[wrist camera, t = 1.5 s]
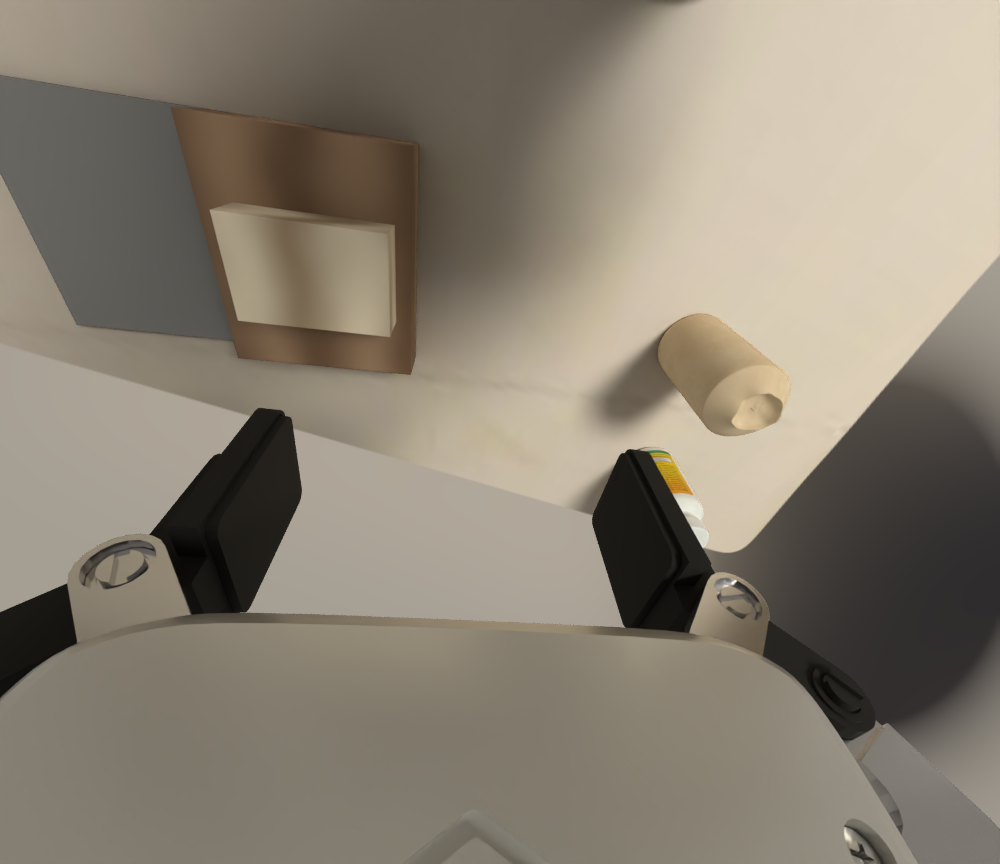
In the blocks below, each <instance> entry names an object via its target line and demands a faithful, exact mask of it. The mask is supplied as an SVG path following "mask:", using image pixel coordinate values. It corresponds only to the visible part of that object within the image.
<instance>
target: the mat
mask: <svg viewBox="0 0 1000 864" xmlns="http://www.w3.org/2000/svg"><path fill="white" fill-rule="evenodd" d="M170 107H186V108H197V107H191V106H185V105H179V104H173V103H166V102H160V101H154V100H148V99H142V98H136V97H130V96H124V95H118V94H112V93H105V92H99V91H93V90H87V89H81V88H75V87H69V86H63V85H57V84H51V83H45V82H38V81H32V80H26V79H20V78H14V77H8V76H2V75H0V174H1V176H2V178H3V180H4V182H5V184H6V186H7V187H8V189H9V191H10V193H11V195H12V197H13V199H14V201H15V203H16V205H17V207H18V209H19V211H20V213H21V215H22V217H23V219H24V221H25V223H26V225H27V227H28V229H29V231H30V233H31V235H32V237H33V239H34V241H35V243H36V245H37V247H38V249H39V251H40V253H41V255H42V257H43V259H44V261H45V263H46V265H47V267H48V269H49V271H50V273H51V275H52V277H53V279H54V281H55V282H56V284H57V286H58V288H59V290H60V292H61V294H62V296H63V298H64V300H65V302H66V304H67V306H68V308H69V310H70V312H71V314H72V316H73V318H74V320H75V322H76V324H77V325H85V326H95V327H105V328H114V329H124V330H134V331H144V332H154V333H163V334H173V335H183V336H193V337H203V338H212V339H222V340H232V341H233V337H232V333H231V329H230V326H229V322H228V318H227V315H226V311H225V307H224V304H223V300H222V296H221V293H220V289H219V285H218V282H217V278H216V274H215V271H214V267H213V263H212V259H211V256H210V252H209V248H208V245H207V241H206V237H205V234H204V230H203V226H202V223H201V219H200V215H199V212H198V208H197V204H196V200H195V197H194V193H193V189H192V186H191V182H190V178H189V175H188V171H187V167H186V164H185V160H184V156H183V153H182V149H181V145H180V141H179V138H178V134H177V130H176V127H175V123H174V119H173V116H172V112H171V108H170Z"/></svg>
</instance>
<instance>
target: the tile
mask: <svg viewBox="0 0 1000 864" xmlns="http://www.w3.org/2000/svg"><path fill="white" fill-rule="evenodd" d="M210 213H211V217H212V221H213V225H214V229H215V233H216V237H217V241H218V245H219V249H220V252H221V256H222V260H223V264H224V268H225V272H226V276H227V280H228V284H229V288H230V291H231V295H232V299H233V303H234V307H235V311H236V315H237V319H238V321H246V322H255V323H264V324H273V325H283V326H292V327H301V328H311V329H320V330H329V331H338V332H348V333H357V334H366V335H376V336H385V337H390V336H391V333H392V331H393V328H394V326H395V324H396V270H395V225H391V224H384V223H376V222H369V221H362V220H355V219H348V218H341V217H334V216H326V215H319V214H312V213H305V212H298V211H291V210H283V209H276V208H269V207H262V206H255V205H248V204H241V203H233V202H232V203H229V204H226V205H223V206H220V207H217V208H214V209H211V210H210Z"/></svg>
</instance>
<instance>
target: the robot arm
mask: <svg viewBox="0 0 1000 864" xmlns="http://www.w3.org/2000/svg"><path fill="white" fill-rule="evenodd" d="M301 492H302V488H301V481H300V474H299V467H298V460H297V453H296V446H295V439H294V432H293V425H292V419H291V417H288V416H285V414H284V412H283V411H282V410H273V409H265V408H258V409H257V410H256V411H255V412H254V413H253V414H252V416H251V417H250V418H249V419H248V421H247V422H246V423H245V424H244V426H243V427H242V428H241V430H240V431H239V432H238V434H237V435H236V436H235V437H234V439H233V440H232V441H231V442H230V444H229V445H228V446H227V447H226V449H225V450H224V451H223V452H222V454H217V455H214V456H213V457H212V458H211V459H210V460H209V462H208V463H207V464H206V465H205V466H204V468H203V469H202V470H201V471H200V473H199V474H198V475H197V476H196V478H195V479H194V480H193V481H192V483H191V484H190V485H189V486H188V488H187V489H186V490H185V491H184V493H183V494H182V495H181V496H180V497H179V499H178V500H177V501H176V502H175V504H174V505H173V506H172V507H171V509H170V510H169V511H168V512H167V514H166V515H165V516H164V517H163V519H162V520H161V521H160V522H159V523H158V525H157V526H156V527H155V528H154V530H153V531H152V532H151V533H150V535H145V534H134V535H125V536H122V537H118V538H114V539H111V540H109V541H107V542H104V543H102V544H100V545H98V546H96V547H95V548H93V549H92V550H90V551H88V552H87V553H85V554H84V555H83V556H82V557H81V558H80V559H79V560H78V561H77V562H76V563H75V564H74V565H73V567H72V569H71V570H70V572H69V574H68V581H67V584H65V585H63V586H60V587H58V588H55V589H53V590H51V591H49V592H46V593H44V594H42V595H39V596H37V597H35V598H32V599H30V600H28V601H25V602H23V603H21V604H18V605H16V606H14V607H11V608H9V609H7V610H5V611H2V612H0V864H1000V829H999V828H998V827H997V826H996V824H995V823H994V822H993V821H992V820H991V819H990V818H989V817H988V816H987V815H986V814H985V813H983V812H982V811H981V810H980V809H979V808H978V807H977V806H976V805H975V804H974V803H973V802H972V801H971V800H970V799H968V798H967V797H966V796H965V795H964V794H963V793H962V792H961V791H960V790H959V789H958V788H957V787H955V786H954V785H953V784H952V783H951V782H950V781H949V780H948V779H947V778H946V777H945V776H944V775H943V774H942V773H940V772H939V771H938V770H937V769H936V768H935V767H934V766H933V765H932V764H931V763H930V762H928V760H927V759H925V758H924V757H923V756H922V755H921V754H920V753H919V752H918V751H917V750H916V749H915V748H913V747H912V746H911V745H910V744H909V743H908V742H907V741H906V740H905V739H904V738H903V737H902V736H901V735H900V734H899V733H897V732H896V731H895V730H894V729H893V728H892V727H891V726H890V725H889V724H888V723H887V724H885V725H883V726H881V725H880V724H879V723H878V722H877V721H876V717H875V711H874V709H873V707H872V704H871V702H870V700H869V699H868V697H867V696H866V695H865V693H864V692H863V690H862V689H861V688H860V687H859V686H858V684H857V683H856V682H855V681H854V680H853V679H852V678H850V677H849V676H848V675H847V674H846V673H844V672H843V671H842V670H840V669H839V668H837V667H836V666H835V665H833V664H832V663H830V662H829V661H827V660H826V659H824V658H823V657H821V656H820V655H818V654H817V653H815V652H814V651H813V650H811V649H810V648H808V647H807V646H805V645H804V644H802V643H801V642H799V641H798V640H796V639H795V638H793V637H792V636H790V635H789V634H788V633H786V632H785V631H783V630H782V629H780V628H779V627H777V626H776V625H774V624H773V623H772V622H770V621H769V609H768V607H767V604H766V602H765V600H764V599H763V598H762V596H761V595H760V593H759V592H758V591H757V590H756V589H755V588H754V587H753V586H752V585H750V584H749V583H747V582H746V581H744V580H743V579H741V578H739V577H737V576H735V575H733V574H729V573H716V574H715V573H714V571H713V569H712V567H711V562H710V560H709V559H708V557H707V555H706V553H705V551H704V550H703V548H702V546H701V544H700V542H699V541H698V539H697V537H696V535H695V533H694V532H693V530H692V528H691V526H690V524H689V523H688V521H687V519H686V517H685V515H684V514H683V512H682V510H681V508H680V506H679V505H678V503H677V501H676V499H675V497H674V496H673V494H672V492H671V490H670V489H669V487H668V485H667V483H666V481H665V480H664V478H663V476H662V474H661V472H660V471H659V469H658V467H657V465H656V463H655V462H654V460H653V458H652V456H651V454H650V453H649V452H647V451H641V450H632V449H629V450H627V451H626V452H625V453H622V454H620V456H619V458H618V460H617V462H616V464H615V467H614V469H613V471H612V473H611V475H610V478H609V480H608V482H607V484H606V487H605V489H604V491H603V493H602V496H601V498H600V500H599V502H598V504H597V507H596V509H595V511H594V513H593V517H592V524H593V528H594V531H595V534H596V538H597V541H598V544H599V548H600V551H601V554H602V557H603V561H604V564H605V567H606V570H607V573H608V577H609V580H610V583H611V587H612V590H613V593H614V596H615V600H616V603H617V606H618V609H619V613H620V616H621V619H622V622H623V625H624V626H625V627H626V628H620V627H603V626H581V625H562V624H540V623H519V622H495V621H473V620H448V619H425V618H424V619H423V618H400V617H399V618H398V617H371V616H346V615H319V614H276V613H240V612H247V610H248V609H249V608H250V606H251V604H252V602H253V600H254V598H255V596H256V593H257V592H258V589H259V587H260V585H261V583H262V581H263V579H264V577H265V574H266V572H267V570H268V568H269V566H270V564H271V562H272V559H273V557H274V555H275V553H276V551H277V549H278V547H279V545H280V543H281V540H282V538H283V536H284V534H285V532H286V530H287V527H288V526H289V523H290V521H291V519H292V517H293V515H294V513H295V511H296V508H297V506H298V504H299V502H300V499H301V494H302V493H301Z"/></svg>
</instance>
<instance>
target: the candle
mask: <svg viewBox="0 0 1000 864" xmlns="http://www.w3.org/2000/svg"><path fill="white" fill-rule="evenodd" d="M657 354H658V360H659V363H660V366H661V367H662V369H663V370H664V372H665V373H666V374H667V376H668V377H669V378H670V380H671V381H672V382H673V384H674V385H675V386H676V388H677V389H678V390H679V392H680V393H681V394H682V396H683V397H684V398H685V400H686V401H687V402H688V404H689V405H690V406H691V408H692V409H693V410H694V412H695V413H696V414H697V416H698V417H699V418H700V419H701V421H702V422H703V423H704V425H705V426H706V427H707V428H708V429H709V430H710V431H711V432H713V433H715V434H718V435H722V436H739V435H745V434H749V433H752V432H755V431H758V430H760V429H763V428H765V427H767V426H769V425H771V424H774V423H776V422H777V421H778V420H779V419H780V417H781V414H782V411H783V409H784V407H785V405H786V402H787V400H788V398H789V395H790V390H791V384H790V380H789V377H788V376H787V374H786V373H785V372H784V371H783V370H782V369H781V368H779V367H778V366H777V365H776V364H774V363H773V362H772V361H771V360H769V359H768V358H767V357H766V356H765V355H763V354H762V353H761V352H760V351H758V350H757V349H756V348H755V347H753V346H752V345H751V344H750V343H748V342H747V341H746V340H745V339H743V338H742V337H741V336H740V335H739V334H737V333H736V332H735V331H734V330H732V329H731V328H730V327H729V326H727V325H726V324H725V323H724V322H722V321H721V320H720V319H718V318H716V317H714V316H712V315H708V314H694V315H690V316H687V317H685V318H683V319H681V320H679V321H677V322H676V323H675V324H673V325H672V326H671V327H670V328H669V329H668V330H667V331H666V332H665V334H664V335H663V337H662V339H661V341H660V343H659V346H658V353H657Z"/></svg>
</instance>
